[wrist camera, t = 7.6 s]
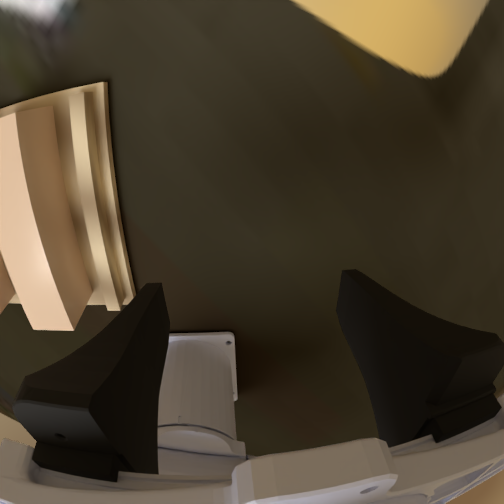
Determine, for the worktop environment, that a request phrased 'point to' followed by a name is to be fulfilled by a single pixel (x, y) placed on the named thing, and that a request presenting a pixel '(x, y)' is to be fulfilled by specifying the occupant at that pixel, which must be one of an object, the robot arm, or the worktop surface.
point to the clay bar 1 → (5, 286)
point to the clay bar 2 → (39, 223)
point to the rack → (89, 188)
